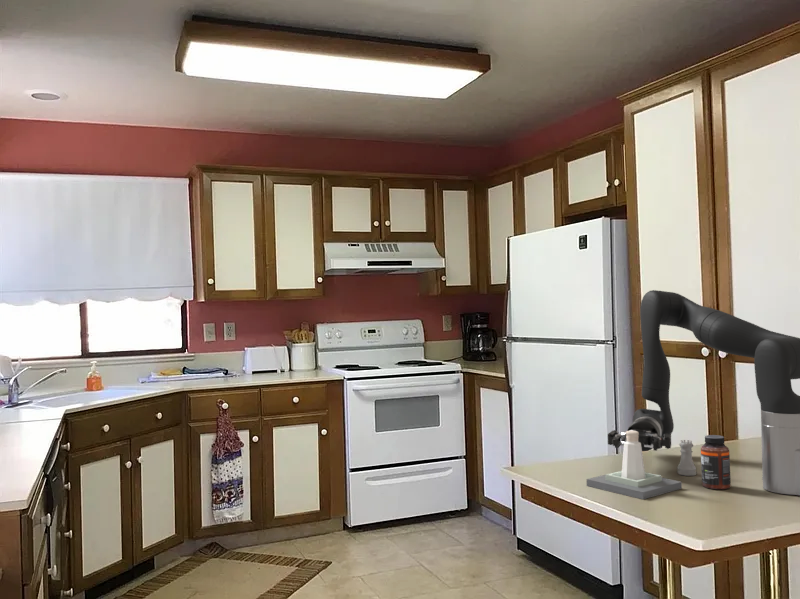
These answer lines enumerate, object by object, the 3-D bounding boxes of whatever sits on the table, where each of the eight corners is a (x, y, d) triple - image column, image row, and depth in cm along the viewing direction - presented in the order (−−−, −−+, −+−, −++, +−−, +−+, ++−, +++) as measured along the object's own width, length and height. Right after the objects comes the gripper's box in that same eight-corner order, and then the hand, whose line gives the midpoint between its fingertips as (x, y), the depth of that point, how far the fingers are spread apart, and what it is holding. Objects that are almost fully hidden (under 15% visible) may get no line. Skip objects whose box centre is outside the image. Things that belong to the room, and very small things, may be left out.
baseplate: (681, 488, 158) (681, 476, 158) (643, 499, 150) (642, 486, 150) (625, 476, 170) (624, 465, 170) (586, 485, 162) (586, 473, 162)
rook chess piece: (698, 476, 169) (697, 442, 169) (678, 476, 170) (678, 442, 170) (694, 472, 173) (694, 439, 173) (675, 471, 174) (674, 439, 174)
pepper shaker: (637, 484, 156) (636, 434, 157) (616, 480, 161) (614, 431, 161) (650, 480, 160) (649, 431, 160) (629, 476, 164) (628, 428, 164)
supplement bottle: (732, 485, 160) (730, 435, 160) (729, 491, 155) (728, 439, 155) (703, 482, 163) (702, 433, 163) (699, 488, 158) (698, 437, 158)
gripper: (615, 416, 182) (603, 426, 167) (674, 419, 175) (667, 430, 161) (615, 446, 182) (604, 458, 167) (675, 449, 175) (668, 463, 161)
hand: (635, 444), depth 164 cm, fingers open, 8 cm apart
